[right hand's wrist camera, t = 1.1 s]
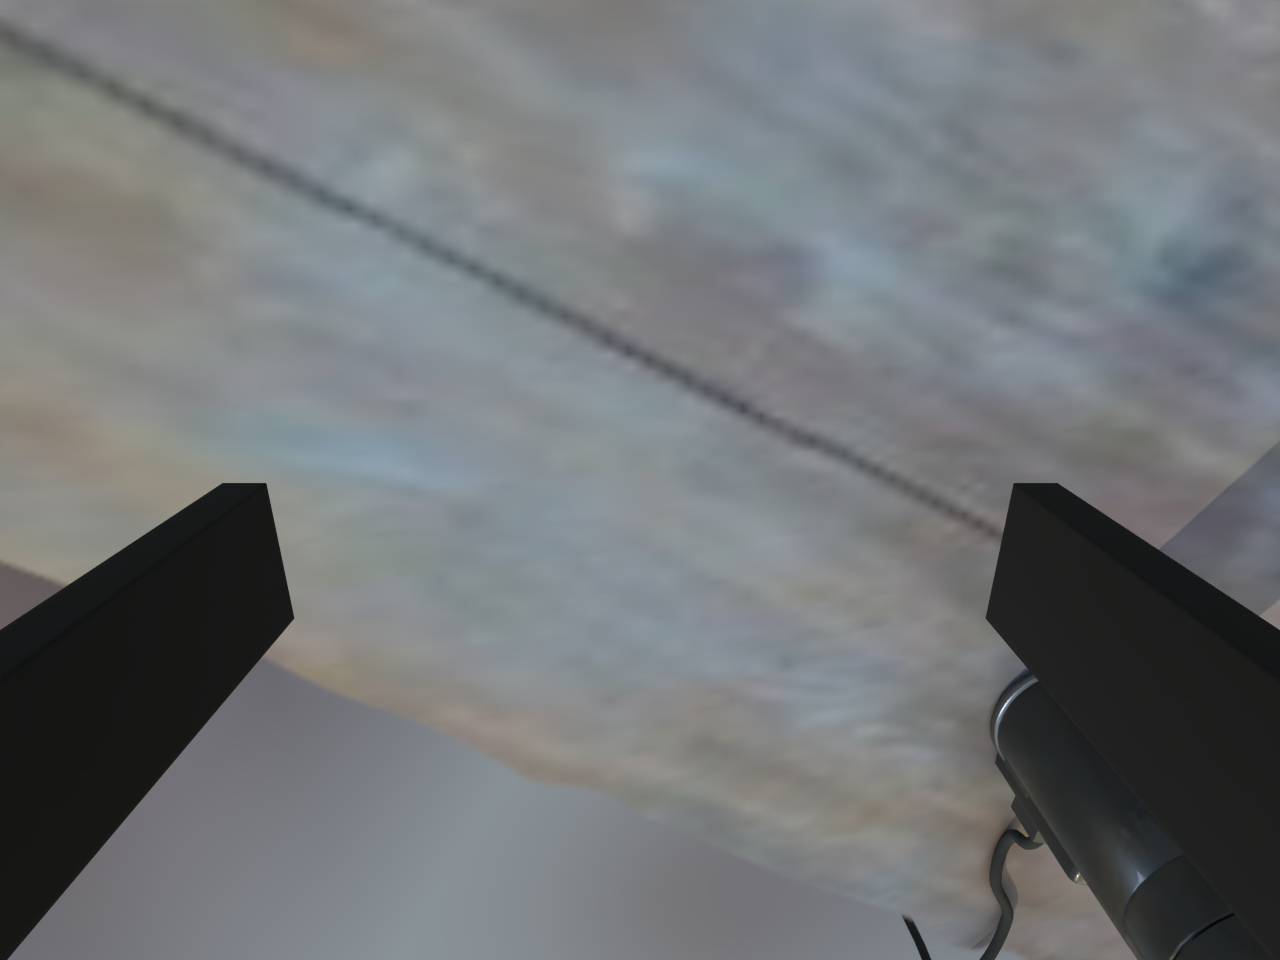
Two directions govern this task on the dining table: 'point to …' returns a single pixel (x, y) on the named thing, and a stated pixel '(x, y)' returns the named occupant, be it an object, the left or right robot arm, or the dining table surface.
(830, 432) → the dining table surface
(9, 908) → the right robot arm
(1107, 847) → the left robot arm
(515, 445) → the dining table surface
